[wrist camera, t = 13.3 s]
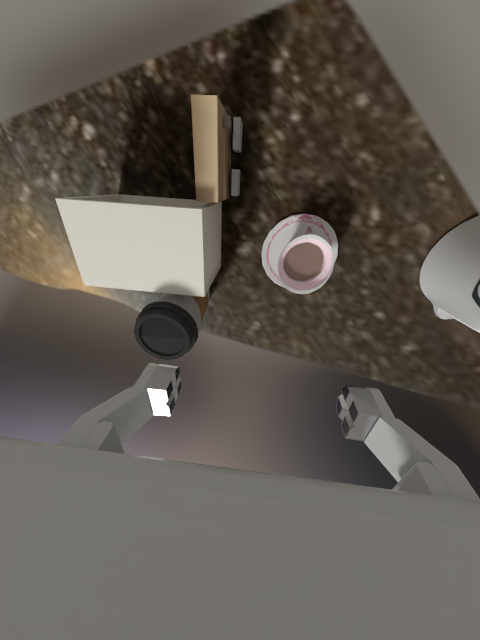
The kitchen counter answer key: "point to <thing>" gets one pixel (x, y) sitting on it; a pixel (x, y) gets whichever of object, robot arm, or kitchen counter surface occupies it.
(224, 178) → the door
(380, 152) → the kitchen counter surface
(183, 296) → the coffee cup
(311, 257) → the teacup
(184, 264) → the cabinet
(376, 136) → the kitchen counter surface
